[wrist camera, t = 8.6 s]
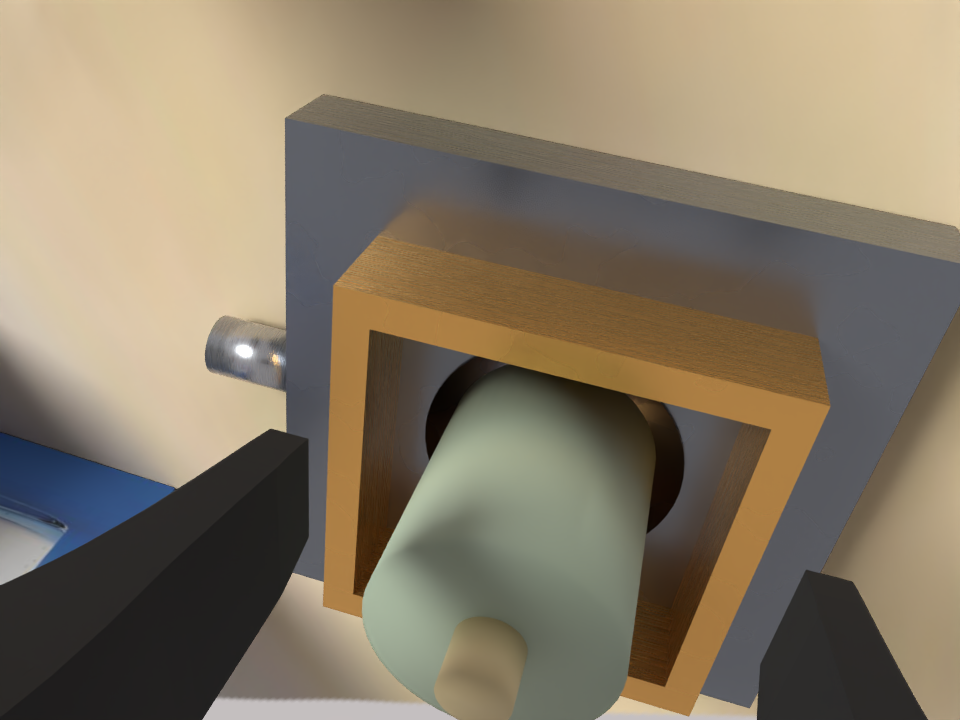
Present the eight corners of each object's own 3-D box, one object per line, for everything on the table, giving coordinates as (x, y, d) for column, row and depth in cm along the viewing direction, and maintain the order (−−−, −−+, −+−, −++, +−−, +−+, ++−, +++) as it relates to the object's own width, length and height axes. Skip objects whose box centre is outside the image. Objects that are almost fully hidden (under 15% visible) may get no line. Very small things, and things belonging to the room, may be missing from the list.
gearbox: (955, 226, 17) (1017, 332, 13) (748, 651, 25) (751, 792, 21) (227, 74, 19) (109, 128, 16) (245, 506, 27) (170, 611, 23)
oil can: (672, 382, 18) (642, 637, 12) (638, 546, 21) (600, 821, 15) (455, 343, 19) (329, 562, 13) (449, 505, 22) (342, 747, 16)
